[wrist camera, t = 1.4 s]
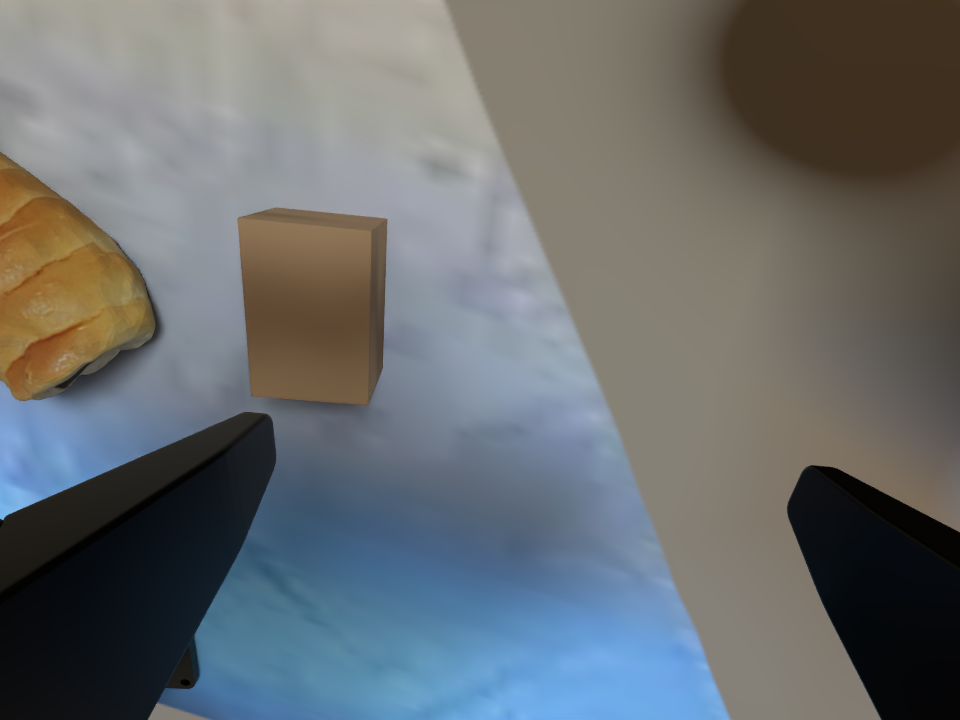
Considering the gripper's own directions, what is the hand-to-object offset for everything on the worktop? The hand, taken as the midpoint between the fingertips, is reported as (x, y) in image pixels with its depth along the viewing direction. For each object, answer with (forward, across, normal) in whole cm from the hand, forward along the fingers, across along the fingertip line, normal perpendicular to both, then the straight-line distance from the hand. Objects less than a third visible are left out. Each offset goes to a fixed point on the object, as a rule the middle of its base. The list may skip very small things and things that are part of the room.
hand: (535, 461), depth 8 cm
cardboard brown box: (+12, +7, +1) cm, 14 cm away
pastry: (+11, +18, +2) cm, 21 cm away
